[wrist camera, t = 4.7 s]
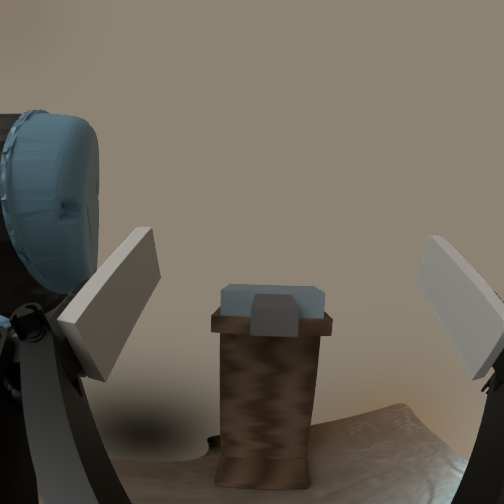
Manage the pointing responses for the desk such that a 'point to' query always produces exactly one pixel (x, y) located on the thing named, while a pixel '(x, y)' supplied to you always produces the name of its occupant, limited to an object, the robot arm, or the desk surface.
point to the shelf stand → (266, 402)
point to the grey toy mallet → (272, 307)
